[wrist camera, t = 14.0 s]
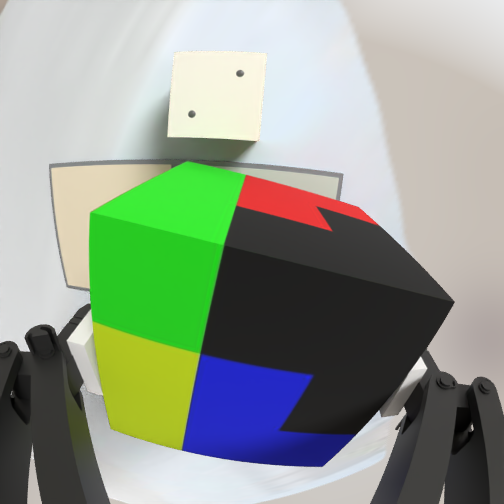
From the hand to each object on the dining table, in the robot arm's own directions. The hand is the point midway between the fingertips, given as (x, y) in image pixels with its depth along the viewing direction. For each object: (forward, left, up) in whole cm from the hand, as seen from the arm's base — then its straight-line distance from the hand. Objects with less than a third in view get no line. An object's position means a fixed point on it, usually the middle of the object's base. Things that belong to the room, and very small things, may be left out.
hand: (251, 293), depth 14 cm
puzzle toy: (0, 0, -4) cm, 4 cm away
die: (-3, +10, -7) cm, 12 cm away
